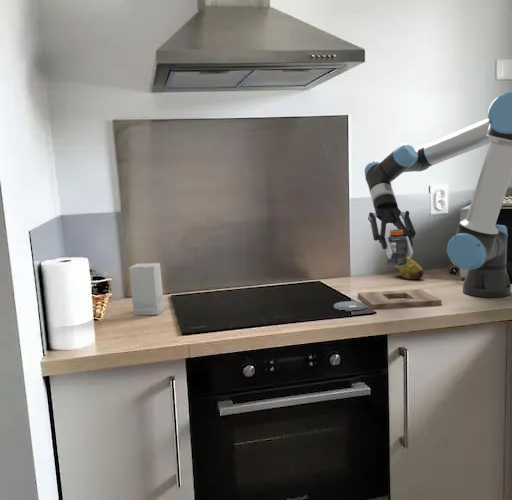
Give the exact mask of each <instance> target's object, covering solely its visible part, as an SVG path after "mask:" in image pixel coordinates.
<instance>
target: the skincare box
mask: <svg viewBox="0 0 512 500" xmlns="http://www.w3.org/2000/svg"><path fill="white" fill-rule="evenodd" d="M128 271H129V281H130V290H131V299H132V309H133V315H134V316H157V315H160V314H161V313H162V312H163V311H165V303H164V302H165V301H164V292H163V281H162V271H161V263H160V262H151V263H150V262H149V263H148V262H147V263H136V264H134V265H131V266H130V267H128Z"/></svg>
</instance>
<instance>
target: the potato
mask: <svg viewBox="0 0 512 500" xmlns="http://www.w3.org/2000/svg"><path fill="white" fill-rule="evenodd" d="M393 268H394V269H395V271H396V273H398V274H399V275H401V277H402V278H404V279H407V280H419V279H422V278H423V276H424V274H425V273H424V269H423V268H422V267H421V265H420V264H418V263H417V261H415V260H413V259H412V257H411V258H409V257H408V255H406V265H405V266H393Z"/></svg>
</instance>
